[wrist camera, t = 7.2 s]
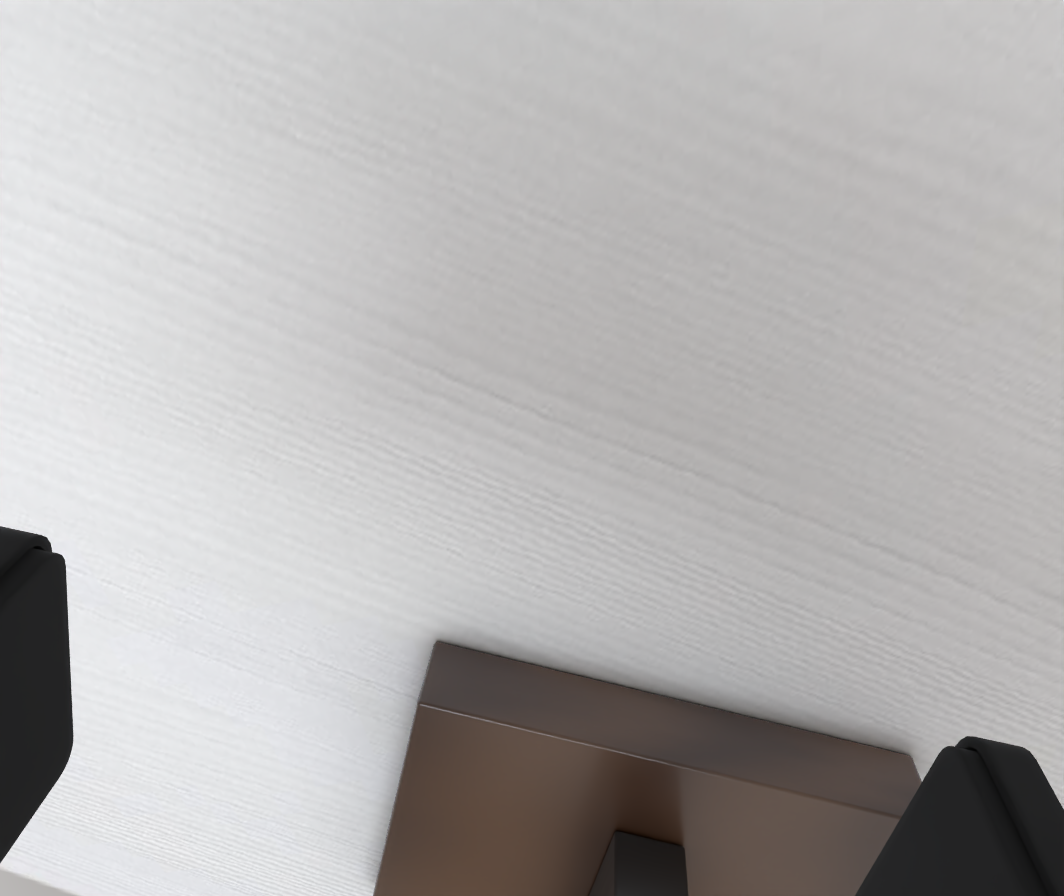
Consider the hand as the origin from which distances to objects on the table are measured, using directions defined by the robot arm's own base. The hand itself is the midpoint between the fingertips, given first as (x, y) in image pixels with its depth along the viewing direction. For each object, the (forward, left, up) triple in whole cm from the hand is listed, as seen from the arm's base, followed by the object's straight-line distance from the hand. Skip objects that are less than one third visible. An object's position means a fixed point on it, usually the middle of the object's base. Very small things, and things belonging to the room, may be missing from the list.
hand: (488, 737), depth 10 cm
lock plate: (-6, +15, -13) cm, 21 cm away
